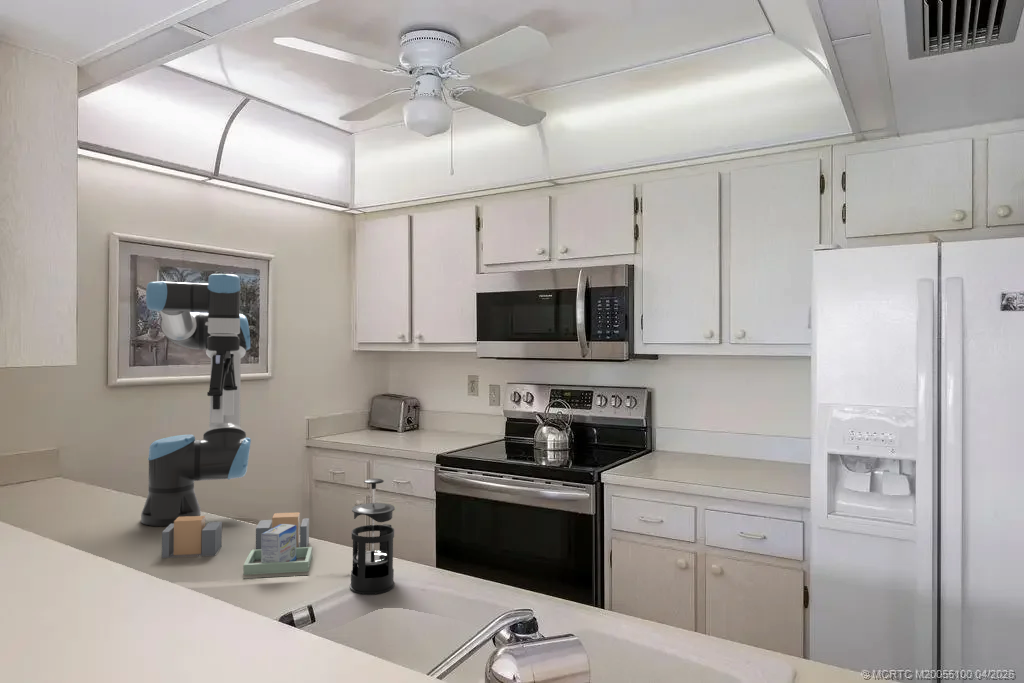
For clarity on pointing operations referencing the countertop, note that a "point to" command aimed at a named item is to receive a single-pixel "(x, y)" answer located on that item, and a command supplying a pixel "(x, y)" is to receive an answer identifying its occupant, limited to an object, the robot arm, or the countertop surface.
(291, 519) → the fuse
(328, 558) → the countertop surface
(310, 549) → the tray
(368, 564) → the french press
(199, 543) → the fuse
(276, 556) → the medicine box
